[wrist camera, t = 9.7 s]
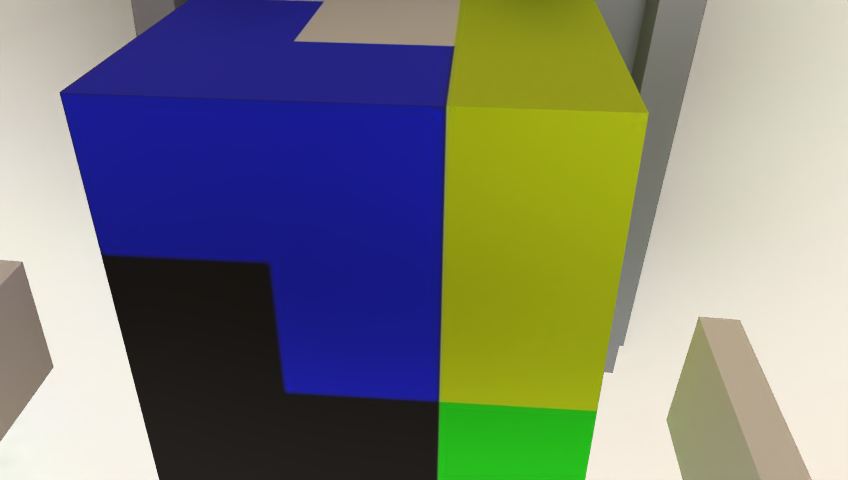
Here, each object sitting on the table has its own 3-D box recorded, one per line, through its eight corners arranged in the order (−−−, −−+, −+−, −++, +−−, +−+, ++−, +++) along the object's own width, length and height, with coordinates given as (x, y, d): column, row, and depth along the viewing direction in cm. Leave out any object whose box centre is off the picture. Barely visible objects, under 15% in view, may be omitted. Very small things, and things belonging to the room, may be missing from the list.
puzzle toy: (230, -31, 21) (59, 91, 13) (584, -22, 21) (648, 112, 12) (266, 262, 27) (161, 487, 18) (549, 276, 26) (578, 515, 18)
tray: (138, -172, 21) (17, -157, 16) (720, -136, 20) (802, -107, 15) (202, 316, 30) (140, 432, 24) (608, 352, 29) (634, 478, 24)
